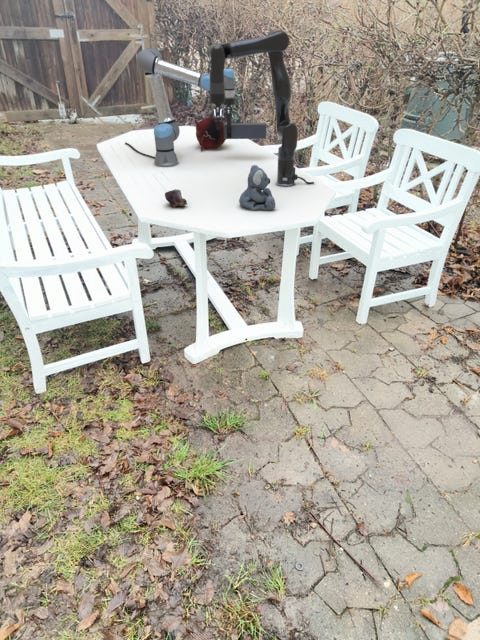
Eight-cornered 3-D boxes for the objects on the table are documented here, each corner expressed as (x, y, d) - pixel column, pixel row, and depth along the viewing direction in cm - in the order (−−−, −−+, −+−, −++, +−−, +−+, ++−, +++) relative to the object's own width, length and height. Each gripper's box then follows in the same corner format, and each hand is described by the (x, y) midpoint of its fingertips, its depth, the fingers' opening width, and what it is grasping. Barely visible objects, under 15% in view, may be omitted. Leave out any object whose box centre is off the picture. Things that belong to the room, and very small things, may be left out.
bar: (224, 139, 292) (223, 125, 287) (224, 137, 296) (224, 123, 291) (266, 138, 291) (266, 124, 286) (266, 136, 295) (266, 122, 290)
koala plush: (276, 211, 223) (277, 171, 212) (240, 212, 222) (240, 172, 211) (271, 199, 237) (272, 161, 226) (237, 200, 236) (237, 162, 225)
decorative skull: (193, 122, 333) (191, 119, 309) (224, 115, 332) (225, 111, 308) (200, 152, 340) (198, 151, 316) (231, 145, 339) (231, 144, 315)
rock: (181, 203, 237) (163, 205, 233) (179, 186, 233) (160, 188, 229) (189, 206, 227) (170, 209, 223) (187, 189, 224) (168, 191, 220)
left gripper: (234, 99, 272) (234, 140, 286) (235, 95, 287) (235, 133, 300) (221, 99, 273) (223, 140, 286) (223, 95, 287) (224, 133, 301)
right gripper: (225, 94, 213) (226, 130, 223) (224, 90, 225) (225, 124, 234) (209, 94, 213) (210, 130, 222) (209, 90, 225) (211, 124, 234)
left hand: (229, 136), depth 293 cm, fingers closed on bar, 5 cm apart
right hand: (218, 127), depth 228 cm, fingers open, 8 cm apart
